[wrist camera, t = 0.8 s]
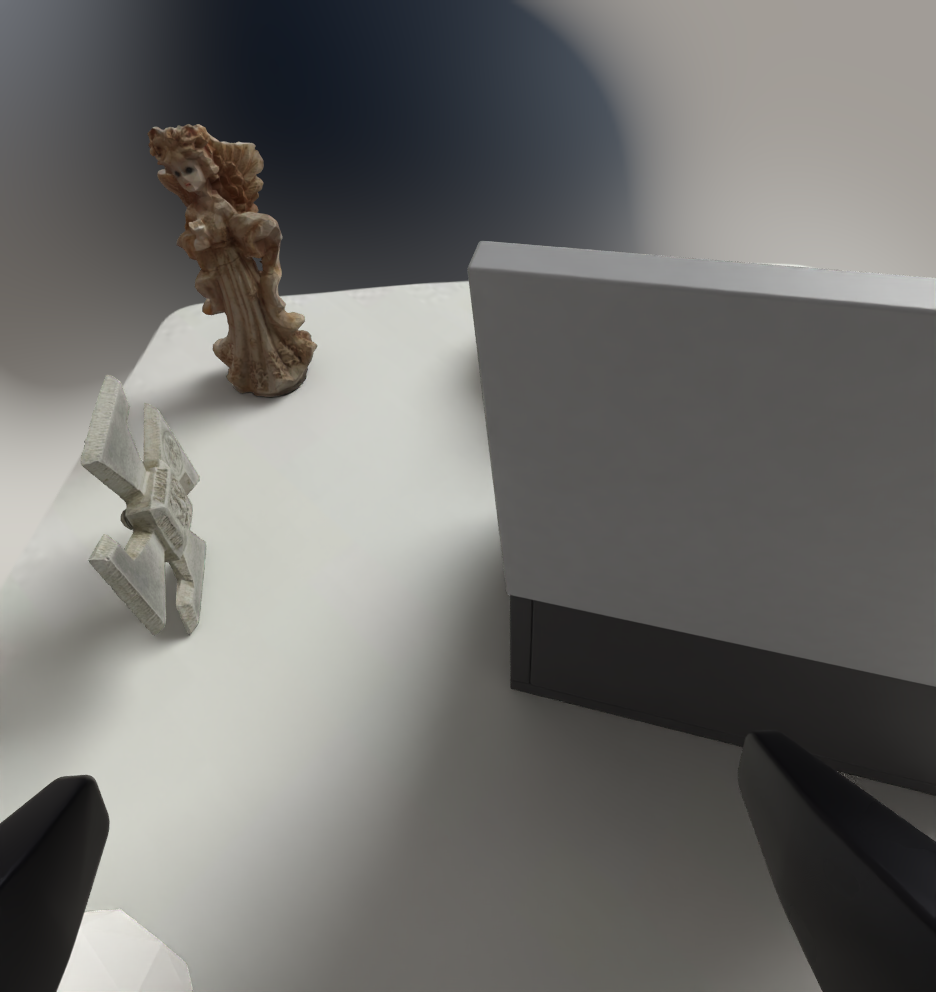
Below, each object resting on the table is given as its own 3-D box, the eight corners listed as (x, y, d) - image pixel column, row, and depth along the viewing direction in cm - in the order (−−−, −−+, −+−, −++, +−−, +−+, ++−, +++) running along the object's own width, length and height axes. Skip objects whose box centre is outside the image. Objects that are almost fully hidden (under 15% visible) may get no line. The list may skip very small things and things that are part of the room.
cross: (217, 670, 27) (110, 513, 20) (153, 683, 27) (22, 529, 20) (229, 501, 35) (154, 340, 27) (178, 510, 34) (88, 350, 27)
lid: (478, 239, 11) (465, 268, 10) (1933, 356, 7) (2006, 410, 7) (511, 573, 21) (505, 594, 21) (1112, 698, 17) (1119, 727, 17)
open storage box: (564, 491, 34) (572, 386, 29) (917, 552, 30) (997, 442, 25) (510, 689, 26) (508, 591, 21) (974, 806, 22) (1104, 719, 17)
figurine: (200, 402, 41) (87, 147, 30) (227, 349, 45) (136, 108, 34) (314, 399, 40) (240, 139, 30) (331, 346, 45) (271, 101, 34)
